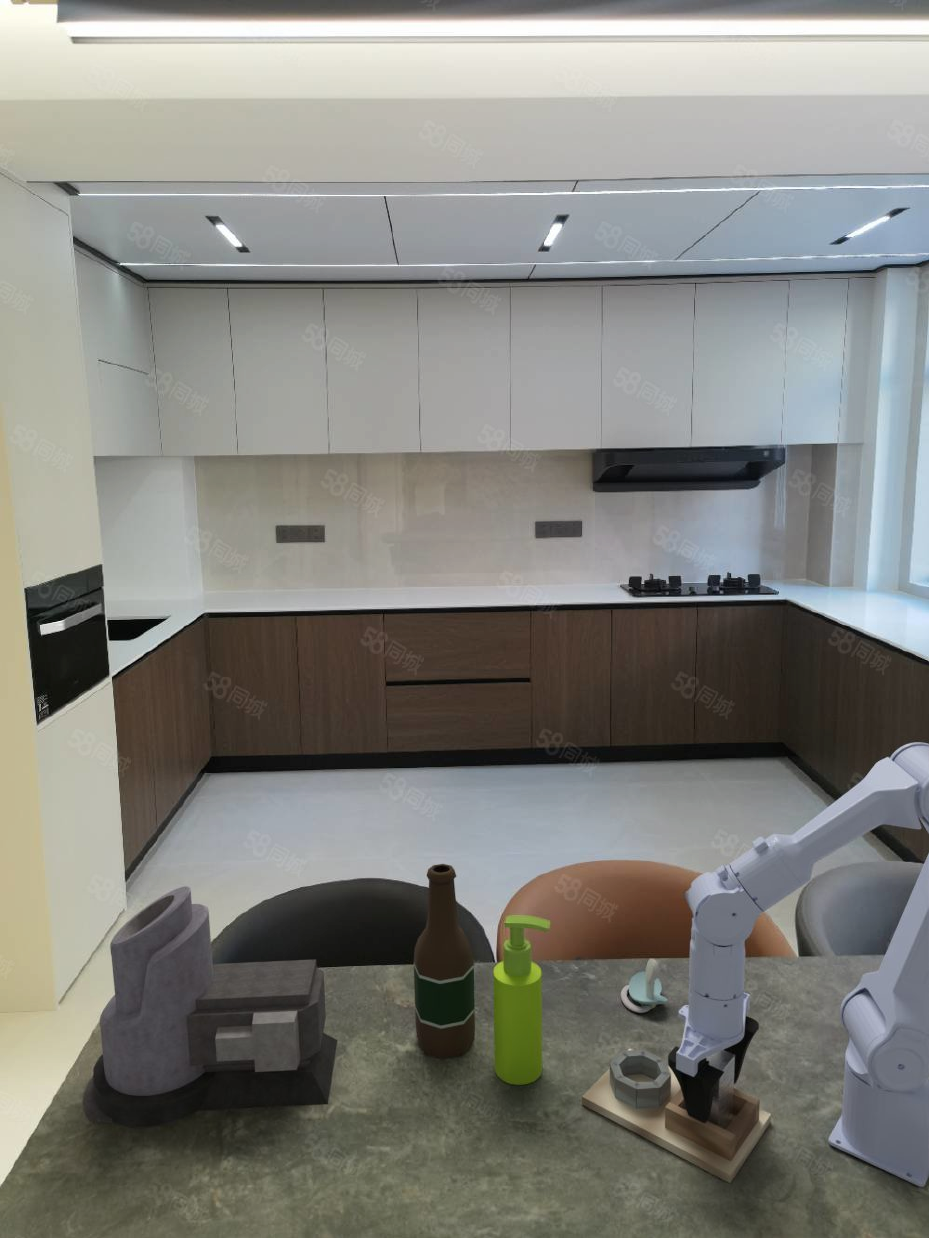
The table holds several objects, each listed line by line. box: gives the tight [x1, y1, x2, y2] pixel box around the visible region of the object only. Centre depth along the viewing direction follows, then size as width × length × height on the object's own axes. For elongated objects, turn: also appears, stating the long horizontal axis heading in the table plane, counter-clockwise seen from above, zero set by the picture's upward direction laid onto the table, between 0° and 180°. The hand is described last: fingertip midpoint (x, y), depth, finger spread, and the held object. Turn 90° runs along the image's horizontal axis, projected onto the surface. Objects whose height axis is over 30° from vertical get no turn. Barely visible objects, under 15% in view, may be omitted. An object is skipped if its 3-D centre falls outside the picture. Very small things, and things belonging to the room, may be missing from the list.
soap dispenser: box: [492, 914, 551, 1086], centre depth 104 cm, size 6×7×20 cm
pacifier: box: [620, 958, 668, 1014], centre depth 119 cm, size 7×6×6 cm
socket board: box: [581, 1048, 772, 1184], centre depth 98 cm, size 18×11×4 cm, turn 50°
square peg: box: [684, 1050, 735, 1130], centre depth 95 cm, size 4×4×8 cm
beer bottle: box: [413, 863, 476, 1060], centre depth 109 cm, size 8×8×24 cm
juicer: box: [82, 885, 338, 1128], centre depth 104 cm, size 30×16×24 cm, turn 93°
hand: (712, 1097), depth 94 cm, fingers open, 7 cm apart
